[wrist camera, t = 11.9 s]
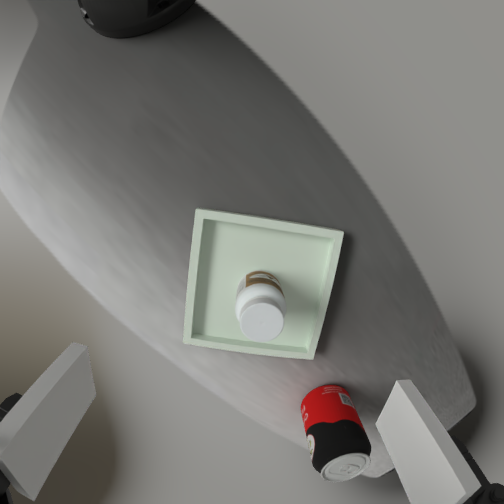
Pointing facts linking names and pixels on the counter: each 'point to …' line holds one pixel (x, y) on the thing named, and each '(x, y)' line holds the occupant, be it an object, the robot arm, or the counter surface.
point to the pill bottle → (260, 306)
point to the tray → (258, 258)
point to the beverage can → (335, 434)
